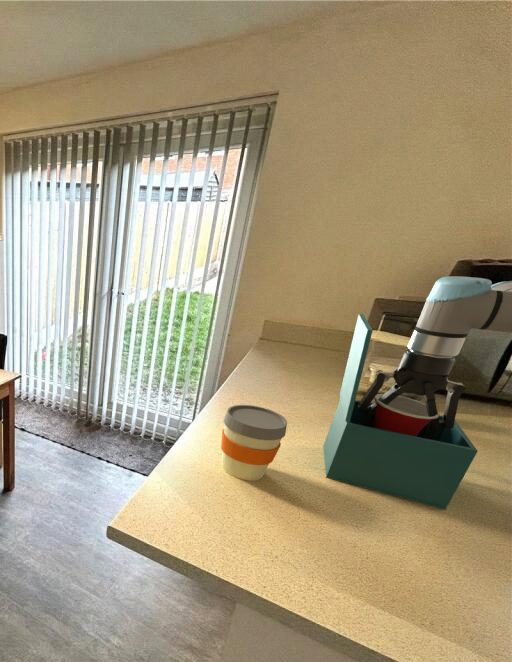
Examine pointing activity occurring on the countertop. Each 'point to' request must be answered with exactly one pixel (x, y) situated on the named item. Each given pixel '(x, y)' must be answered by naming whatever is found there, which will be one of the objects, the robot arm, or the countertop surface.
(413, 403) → the plastic cup
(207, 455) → the countertop surface
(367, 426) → the robot arm
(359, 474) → the lidded box
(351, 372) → the lid
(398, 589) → the countertop surface
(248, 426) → the reusable coffee cup
